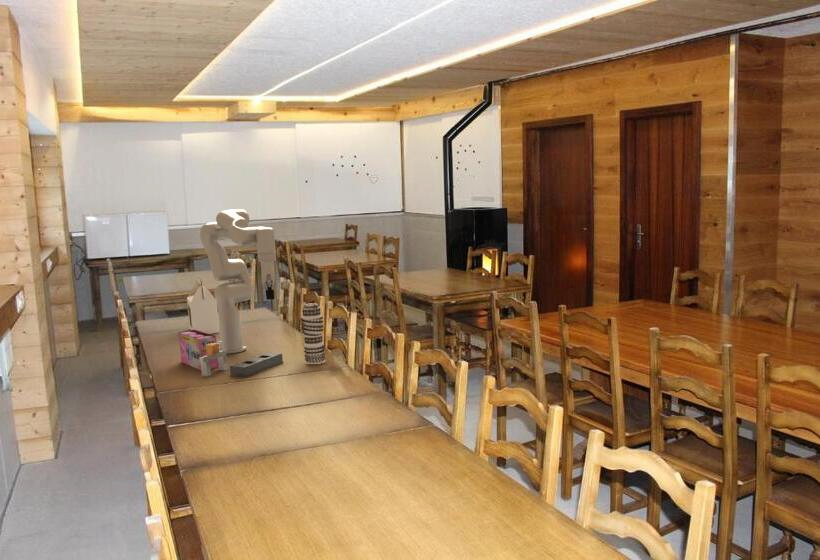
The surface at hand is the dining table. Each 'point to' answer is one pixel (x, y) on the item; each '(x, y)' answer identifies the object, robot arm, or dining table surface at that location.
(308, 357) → the decorative candle
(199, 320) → the gable box
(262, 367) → the grey block with holes
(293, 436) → the dining table surface
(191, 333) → the gum box
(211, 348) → the clip
